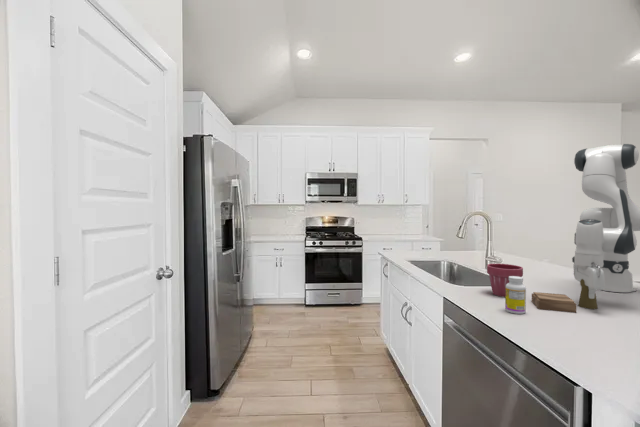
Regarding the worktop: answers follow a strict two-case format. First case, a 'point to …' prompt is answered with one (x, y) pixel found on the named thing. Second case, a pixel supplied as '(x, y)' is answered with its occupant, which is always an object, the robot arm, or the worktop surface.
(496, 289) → the plant pot
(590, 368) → the worktop surface
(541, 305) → the walnut stand
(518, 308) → the supplement bottle
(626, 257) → the robot arm
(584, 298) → the cork
